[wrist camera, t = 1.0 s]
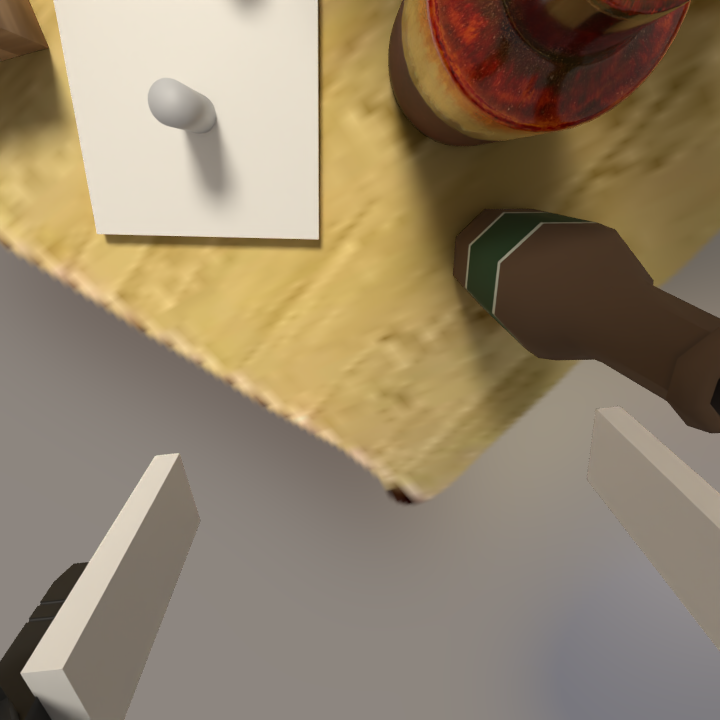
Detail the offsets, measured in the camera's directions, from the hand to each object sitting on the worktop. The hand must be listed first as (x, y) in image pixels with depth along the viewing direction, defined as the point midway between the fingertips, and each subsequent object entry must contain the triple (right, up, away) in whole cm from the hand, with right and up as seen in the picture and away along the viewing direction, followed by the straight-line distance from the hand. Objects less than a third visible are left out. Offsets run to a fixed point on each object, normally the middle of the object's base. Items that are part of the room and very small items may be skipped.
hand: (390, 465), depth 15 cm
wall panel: (-12, +22, +16) cm, 30 cm away
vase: (+6, +24, +16) cm, 30 cm away
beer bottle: (+10, +12, +22) cm, 27 cm away
